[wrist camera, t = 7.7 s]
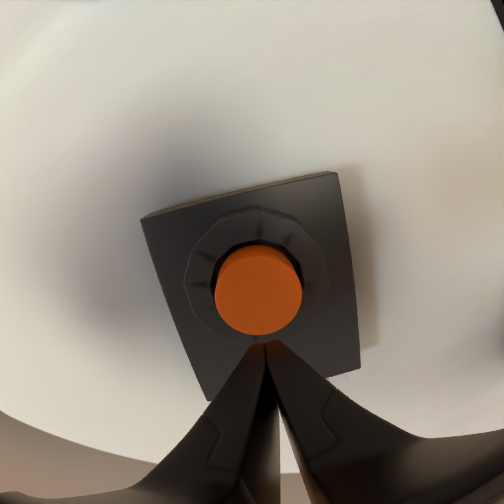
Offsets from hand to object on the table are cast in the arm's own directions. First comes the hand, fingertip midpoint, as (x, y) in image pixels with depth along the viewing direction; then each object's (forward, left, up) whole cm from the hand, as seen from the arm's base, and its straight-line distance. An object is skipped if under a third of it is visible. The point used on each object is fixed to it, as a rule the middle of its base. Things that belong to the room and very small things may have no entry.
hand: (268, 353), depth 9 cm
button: (0, 0, -6) cm, 6 cm away
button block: (-2, 0, -9) cm, 9 cm away
